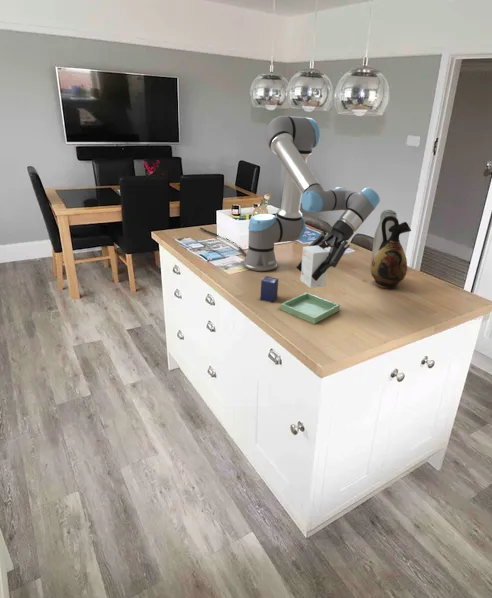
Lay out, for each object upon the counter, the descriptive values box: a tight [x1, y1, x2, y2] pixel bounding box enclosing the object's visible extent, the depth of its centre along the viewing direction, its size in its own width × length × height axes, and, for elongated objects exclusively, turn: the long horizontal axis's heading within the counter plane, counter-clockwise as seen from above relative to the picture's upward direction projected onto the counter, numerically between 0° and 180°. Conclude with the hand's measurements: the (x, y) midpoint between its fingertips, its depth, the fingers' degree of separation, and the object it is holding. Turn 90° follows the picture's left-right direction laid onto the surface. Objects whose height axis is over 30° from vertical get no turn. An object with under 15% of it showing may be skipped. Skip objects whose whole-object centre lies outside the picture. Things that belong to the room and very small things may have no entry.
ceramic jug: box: [369, 216, 412, 290], centre depth 177 cm, size 17×15×30 cm
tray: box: [280, 292, 340, 325], centre depth 154 cm, size 16×16×2 cm
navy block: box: [260, 276, 279, 303], centre depth 160 cm, size 5×5×8 cm
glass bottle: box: [371, 209, 398, 261], centre depth 198 cm, size 10×10×28 cm
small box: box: [299, 245, 329, 289], centre depth 148 cm, size 8×6×13 cm
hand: (306, 274), depth 147 cm, fingers closed on small box, 9 cm apart
